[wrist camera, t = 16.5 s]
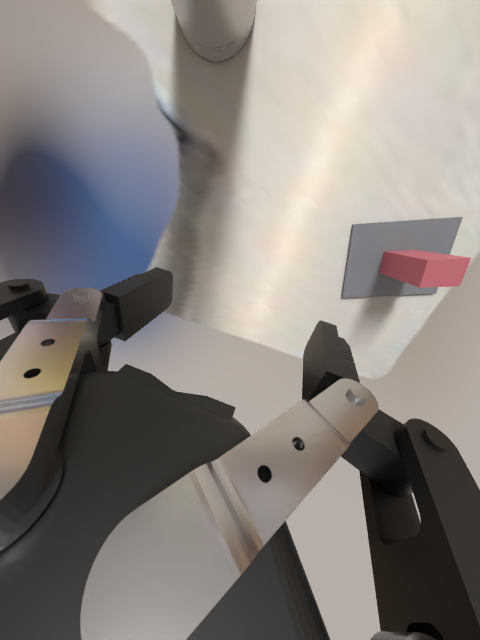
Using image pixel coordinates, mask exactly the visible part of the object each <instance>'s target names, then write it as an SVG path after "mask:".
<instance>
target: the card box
mask: <svg viewBox="0 0 480 640" xmlns="http://www.w3.org/2000/svg"><path fill="white" fill-rule="evenodd" d="M470 259H471V258H467V257H461V256H454V255H447V254H440V253H434V252H427V251H420V250H403V251H384V254H383V258H382V263H381V267H380V271H379V273H381V274H383V275H386V276H389V277H391V278H394V279H397V280H400V281H402V282H405V283H408V284H410V285H413V286H416V287H419V288H424V287H449V286H460V284H461V281H462V279H463V277H464V274H465V272H466V269H467V267H468V264H469V262H470Z"/></svg>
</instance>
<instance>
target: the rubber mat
mask: <svg viewBox="0 0 480 640" xmlns="http://www.w3.org/2000/svg"><path fill="white" fill-rule="evenodd" d="M462 218H463V217H457V218H442V219H428V220H413V221H398V222H384V223H369V224H354V225H352V231H351V238H350V244H349V251H348V258H347V264H346V271H345V278H344V284H343V291H342V298H350V297H371V296H392V295H413V294H434V293H436V292H437V289H438V287H424V288H419V287H416V286H413V285H410V284H408V283H405V282H402V281H400V280H397V279H394V278H391V277H389V276H386V275H383V274H381V273H379V271H380V267H381V263H382V258H383V254H384V251H403V250H420V251H427V252H434V253H440V254H447V255H450V252H451V249H452V246H453V243H454V240H455V238H456V235H457V232H458V229H459V226H460V223H461V221H462Z"/></svg>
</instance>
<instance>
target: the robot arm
mask: <svg viewBox="0 0 480 640" xmlns="http://www.w3.org/2000/svg"><path fill="white" fill-rule="evenodd" d="M171 2H172V5H173V8H174V11H175V14H176V16H177V19H178V22H179V25H180V28H181V30H182V32H183V35H184V37H185V39H186V40H187V42H188V43H189V45H190V47H191V48H192V49H193V50H194V51H195V52H196V53H197V54H199V55H200V56H202V57H203V58H205V59H208V60H211V61H223V60H226V59H229V58H230V57H232V56H234V55H235V54H236V53H237V52H238V51H239V50H240V49H241V48H242V47H243V45H244V43H245V42H246V40H247V39H248V36H249V34H250V32H251V29H252V26H253V22H254V18H255V11H256V0H171ZM172 284H173V276H172V273H171V272H170V271H167V270H164V269H161V268H158V267H157V268H154V269H152V270H150V271H147V272H145V273H143V274H138V275H134V276H132V277H130V278H128V279H126V280H123V281H122V282H118V283H117V284H114V285H112V286H109V287H107V288H105V289H103V290H101V291H99V290H96V289H93V288H75V289H71V290H68V291H65V292H63V293H62V294H61V295H56V294H48V293H46V290H45V287H44V285H43V283H42V282H41V281H38V280H34V279H15V280H9V281H5V282H1V283H0V320H2V319H4V318H7V317H8V319H9V321H10V323H11V325H12V327H13V329H14V331H15V333H14V334H12V335H10V336H8V337H6V338H4V339H2V340H0V640H330V638H329V635H328V633H327V630H326V627H325V625H324V622H323V620H322V617H321V614H320V611H319V609H318V606H317V603H316V601H315V598H314V595H313V593H312V590H311V587H310V585H309V582H308V579H307V577H306V574H305V571H304V569H303V566H302V564H301V561H300V558H299V555H298V553H297V550H296V547H295V545H294V542H293V539H292V537H291V534H290V531H289V529H288V526H287V523H286V519H287V518H288V517H289V516H290V515H291V514H292V512H293V511H294V510H295V509H296V508H297V507H298V505H299V504H300V503H301V502H302V501H303V500H304V498H305V497H306V496H307V495H308V494H309V492H310V491H311V490H312V489H313V488H314V487H315V486H316V484H317V483H318V482H319V481H320V480H321V479H322V477H323V476H324V475H325V474H326V473H327V472H328V470H329V469H330V468H331V467H332V466H333V465H334V463H335V462H336V461H337V460H338V459H339V457H340V456H341V457H343V458H344V459H345V460H347V461H348V462H349V463H351V464H352V465H353V466H354V467H356V468H357V469H359V471H360V479H361V486H362V494H363V501H364V509H365V516H366V524H367V531H368V539H369V546H370V554H371V561H372V568H373V576H374V583H375V591H376V599H377V606H378V613H379V621H380V628H381V631H380V632H378V633H376V634H374V636H373V637H372V638H371V640H480V490H479V488H478V486H477V484H476V482H475V480H474V479H473V477H472V475H471V473H470V471H469V469H468V468H467V466H466V464H465V462H464V460H463V458H462V456H461V455H460V453H459V451H458V449H457V448H456V447H455V445H454V444H453V443H452V442H451V441H450V439H449V438H448V437H447V436H446V435H445V434H443V433H442V432H441V431H440V430H438V429H437V428H436V427H434V426H432V425H431V424H429V423H427V422H425V421H423V420H420V419H410V420H408V421H407V422H406V423H405V424H402V423H400V422H398V421H397V420H395V419H394V418H392V417H390V416H389V415H387V414H385V413H384V412H382V411H381V410H379V409H378V402H377V400H376V398H375V397H374V395H373V394H372V393H371V392H370V391H369V390H368V389H367V388H366V387H365V386H363V385H362V384H360V382H359V378H358V374H357V371H356V367H355V363H354V362H353V361H354V360H353V356H352V353H351V349H350V346H349V345H348V344H347V342H346V341H345V340H344V339H343V338H340V337H338V332H337V327H336V325H333V324H330V323H327V322H324V321H319V322H318V324H317V325H316V327H315V329H314V331H313V333H312V335H311V337H310V339H309V341H308V343H307V345H306V348H305V351H304V356H303V388H302V401H300V402H299V403H297V404H296V405H294V406H293V407H291V408H290V409H289V410H287V411H286V412H284V413H283V414H281V415H280V416H278V417H277V418H276V419H274V420H273V421H271V422H270V423H268V424H267V425H265V426H264V427H263V428H261V429H260V430H258V431H257V432H256V433H254V434H253V435H250V433H249V432H248V431H247V430H246V429H245V427H244V426H243V425H242V424H241V423H239V422H238V421H237V420H236V419H235V418H233V414H234V410H235V407H233V406H230V405H228V404H225V403H223V402H220V401H218V400H215V399H213V398H210V397H208V396H202V395H195V394H188V393H182V392H176V391H173V390H172V389H170V388H169V387H168V386H167V385H165V384H164V383H162V382H161V381H160V380H158V379H157V378H156V377H155V376H153V375H152V374H150V373H147V372H145V371H142V370H140V369H137V368H134V367H132V366H130V365H127V364H126V365H125V366H123V367H122V368H121V369H120V370H119V371H118V372H115V371H114V372H113V371H108V364H109V358H110V352H111V345H112V344H111V339H112V338H114V337H115V338H118V339H120V340H123V341H126V340H127V339H129V338H130V337H131V336H132V335H134V334H135V333H136V332H137V331H139V330H140V329H141V328H143V327H144V326H145V325H147V324H148V323H149V322H150V321H152V320H153V319H154V318H156V317H157V316H158V315H159V314H161V313H162V312H163V311H165V310H166V309H167V308H168V307H169V306H170V304H171V301H172ZM412 492H413V493H414V496H415V499H416V502H417V506H418V509H419V513H420V517H421V524H420V521H419V517H418V514H417V511H416V508H415V504H414V501H413V497H412V494H411V493H412Z"/></svg>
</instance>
